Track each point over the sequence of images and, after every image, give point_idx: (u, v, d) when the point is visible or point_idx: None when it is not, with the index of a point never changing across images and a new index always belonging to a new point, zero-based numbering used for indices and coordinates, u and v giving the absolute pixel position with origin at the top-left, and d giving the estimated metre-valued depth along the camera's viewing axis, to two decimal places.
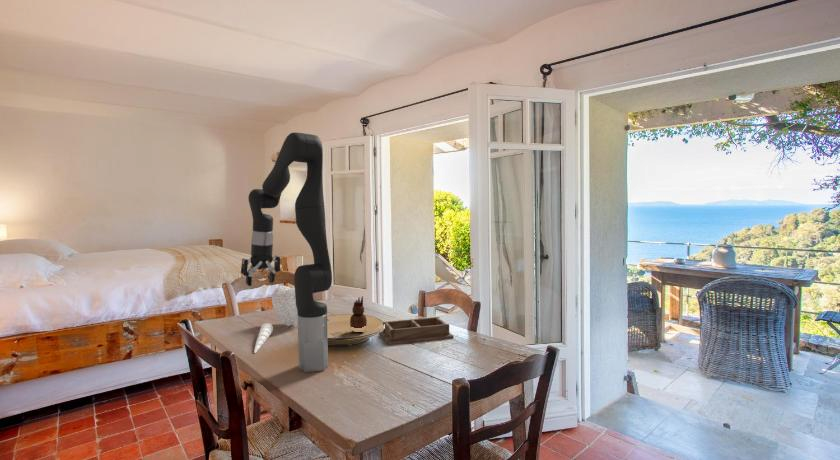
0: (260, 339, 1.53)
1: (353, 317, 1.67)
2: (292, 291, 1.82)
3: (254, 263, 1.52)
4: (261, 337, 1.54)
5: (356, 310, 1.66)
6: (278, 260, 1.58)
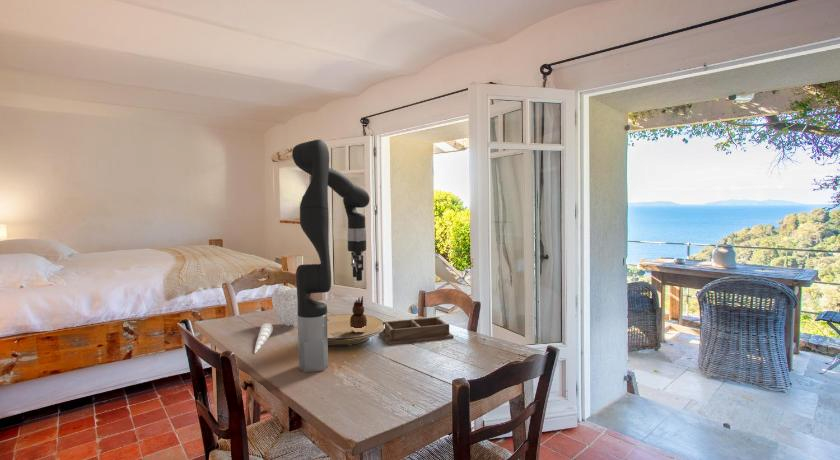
0: (260, 339, 1.53)
1: (353, 317, 1.67)
2: (292, 291, 1.82)
3: None
4: (261, 337, 1.54)
5: (356, 310, 1.66)
6: (356, 259, 1.61)
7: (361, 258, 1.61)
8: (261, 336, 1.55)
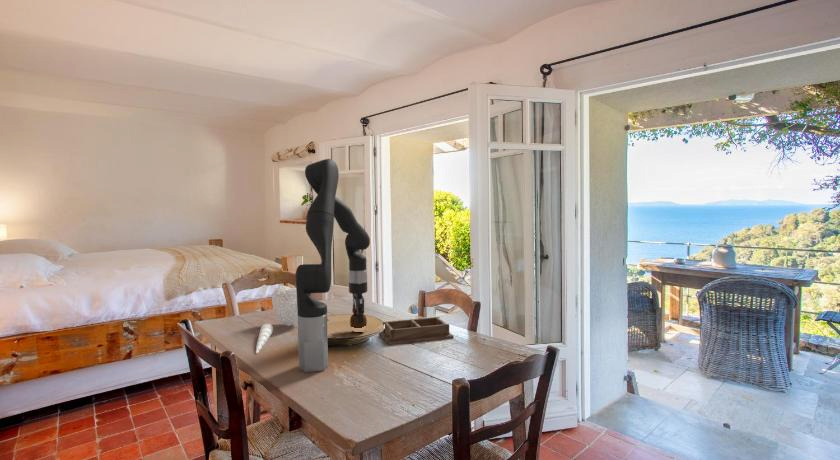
0: (261, 339, 1.53)
1: (353, 317, 1.67)
2: (292, 291, 1.82)
3: None
4: (262, 337, 1.54)
5: (356, 310, 1.66)
6: (357, 302, 1.62)
7: (362, 302, 1.62)
8: (262, 336, 1.55)
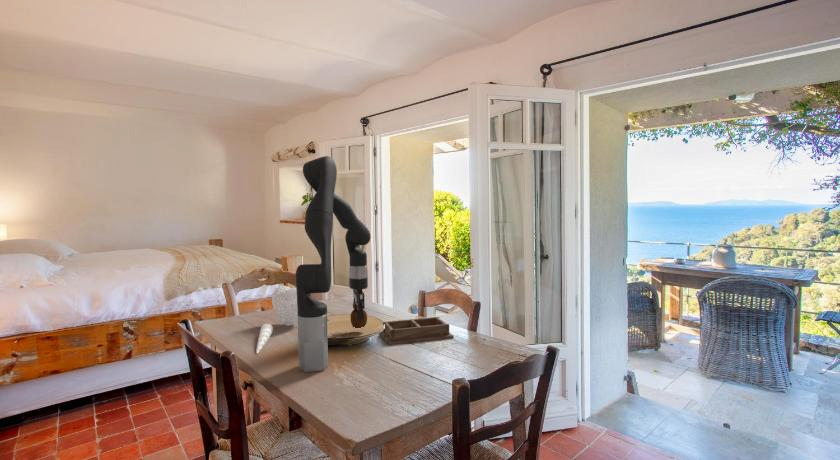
0: (261, 340, 1.52)
1: (353, 313, 1.67)
2: (292, 291, 1.82)
3: None
4: (262, 338, 1.54)
5: None
6: (358, 298, 1.62)
7: (362, 297, 1.62)
8: (262, 336, 1.55)
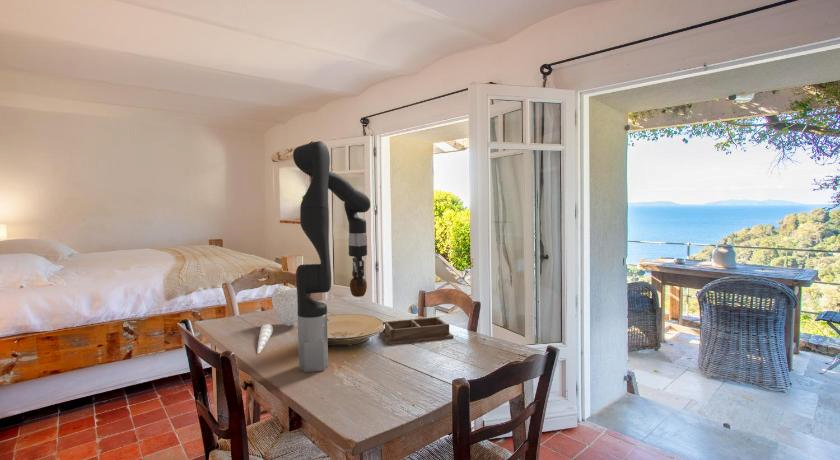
0: (262, 340, 1.52)
1: (353, 280, 1.66)
2: (292, 291, 1.82)
3: None
4: (263, 338, 1.54)
5: (356, 274, 1.65)
6: (357, 264, 1.61)
7: (362, 264, 1.61)
8: (262, 337, 1.55)
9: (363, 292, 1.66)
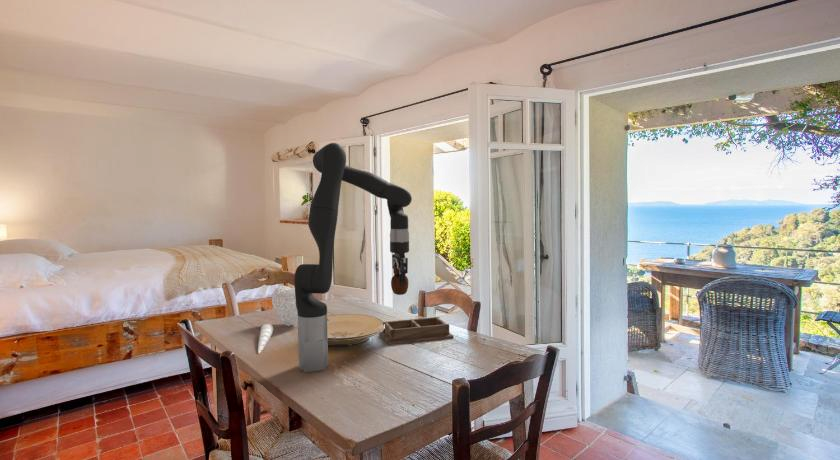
0: (262, 340, 1.52)
1: (395, 278, 1.60)
2: (292, 291, 1.82)
3: None
4: (263, 338, 1.54)
5: (398, 271, 1.59)
6: (401, 261, 1.55)
7: (406, 261, 1.55)
8: (263, 337, 1.55)
9: (405, 290, 1.60)
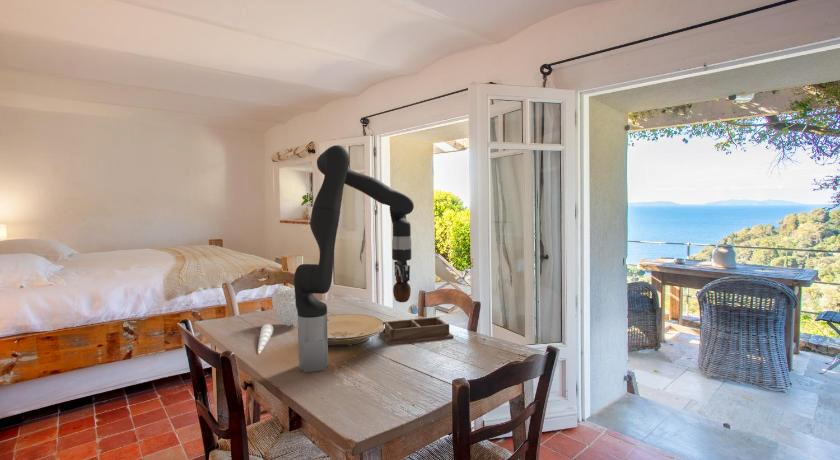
0: (263, 340, 1.52)
1: (397, 285, 1.60)
2: (292, 291, 1.82)
3: None
4: (263, 338, 1.54)
5: None
6: (403, 269, 1.55)
7: (408, 269, 1.55)
8: (263, 337, 1.55)
9: (407, 297, 1.60)
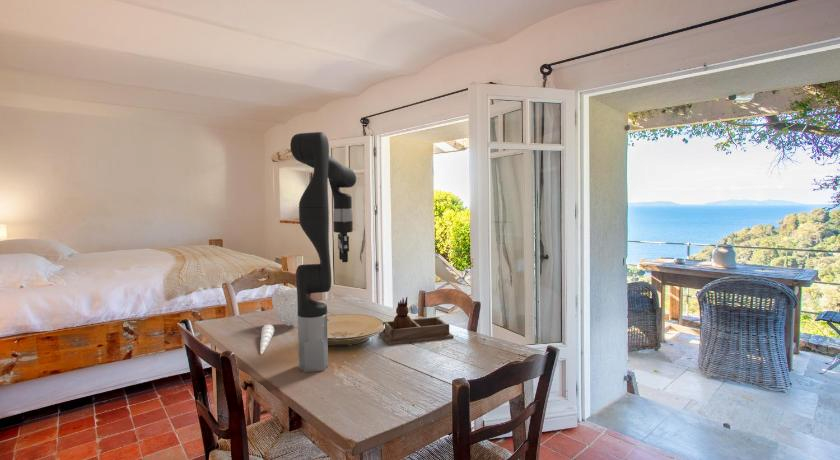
0: (264, 340, 1.52)
1: (397, 318, 1.60)
2: (292, 291, 1.82)
3: None
4: (265, 338, 1.53)
5: (401, 311, 1.59)
6: (342, 239, 1.57)
7: (347, 239, 1.57)
8: (264, 337, 1.54)
9: None
